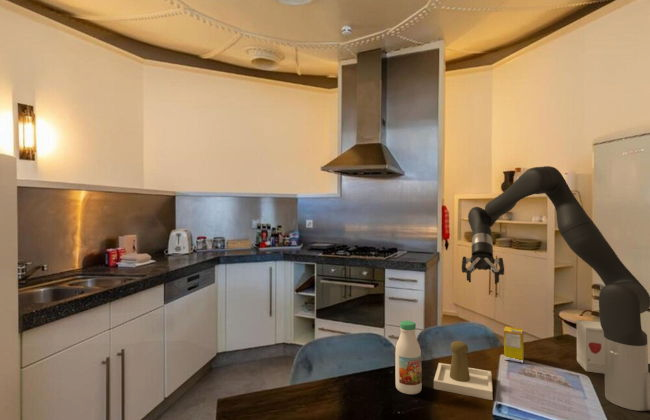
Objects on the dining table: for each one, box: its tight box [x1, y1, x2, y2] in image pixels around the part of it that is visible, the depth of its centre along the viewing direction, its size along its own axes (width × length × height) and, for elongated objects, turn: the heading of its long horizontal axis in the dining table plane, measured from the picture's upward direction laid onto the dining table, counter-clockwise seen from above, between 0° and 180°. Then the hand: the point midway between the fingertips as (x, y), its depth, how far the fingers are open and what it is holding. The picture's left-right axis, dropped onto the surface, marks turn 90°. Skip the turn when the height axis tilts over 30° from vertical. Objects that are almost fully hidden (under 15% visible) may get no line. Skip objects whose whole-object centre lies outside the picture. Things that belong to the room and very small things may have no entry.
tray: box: [433, 362, 493, 401], centre depth 106 cm, size 16×14×2 cm
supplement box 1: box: [503, 326, 525, 361], centre depth 124 cm, size 6×6×11 cm
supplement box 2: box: [576, 319, 605, 375], centre depth 116 cm, size 9×9×15 cm
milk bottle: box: [394, 320, 423, 395], centre depth 104 cm, size 8×8×20 cm
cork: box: [450, 340, 470, 382], centre depth 108 cm, size 6×6×11 cm
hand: (482, 281), depth 122 cm, fingers open, 8 cm apart
